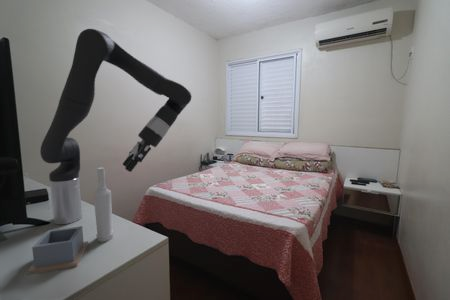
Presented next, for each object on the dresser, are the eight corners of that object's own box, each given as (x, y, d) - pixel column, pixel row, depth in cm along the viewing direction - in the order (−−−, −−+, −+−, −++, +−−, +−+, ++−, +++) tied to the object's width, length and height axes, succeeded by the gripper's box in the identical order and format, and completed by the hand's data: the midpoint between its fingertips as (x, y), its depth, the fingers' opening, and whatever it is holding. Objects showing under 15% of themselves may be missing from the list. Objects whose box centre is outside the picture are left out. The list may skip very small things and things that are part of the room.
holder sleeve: (48, 249, 66) (45, 229, 65) (88, 244, 69) (86, 224, 68) (28, 274, 56) (25, 250, 55) (76, 266, 59) (74, 243, 58)
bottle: (93, 240, 72) (87, 169, 68) (106, 232, 76) (102, 165, 73) (104, 243, 70) (99, 170, 66) (117, 235, 75) (113, 167, 71)
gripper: (142, 125, 81) (114, 159, 77) (150, 125, 69) (118, 165, 65) (158, 136, 85) (132, 170, 81) (168, 138, 73) (138, 178, 69)
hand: (126, 168), depth 73 cm, fingers open, 8 cm apart
